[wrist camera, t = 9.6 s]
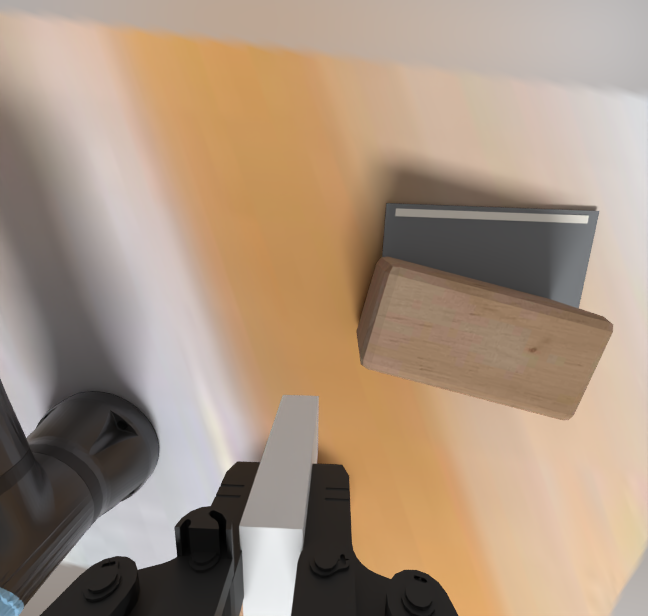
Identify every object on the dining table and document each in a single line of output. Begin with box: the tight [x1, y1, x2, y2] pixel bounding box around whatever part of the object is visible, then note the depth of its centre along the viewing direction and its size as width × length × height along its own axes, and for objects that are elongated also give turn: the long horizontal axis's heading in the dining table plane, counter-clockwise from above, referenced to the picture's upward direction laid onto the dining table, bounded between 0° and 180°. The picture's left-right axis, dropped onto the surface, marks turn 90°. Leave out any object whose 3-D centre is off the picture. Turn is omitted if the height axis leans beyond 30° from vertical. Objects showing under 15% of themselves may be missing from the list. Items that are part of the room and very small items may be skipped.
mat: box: [382, 203, 599, 308], centre depth 39 cm, size 22×17×1 cm
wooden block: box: [357, 256, 613, 420], centre depth 35 cm, size 10×10×20 cm
